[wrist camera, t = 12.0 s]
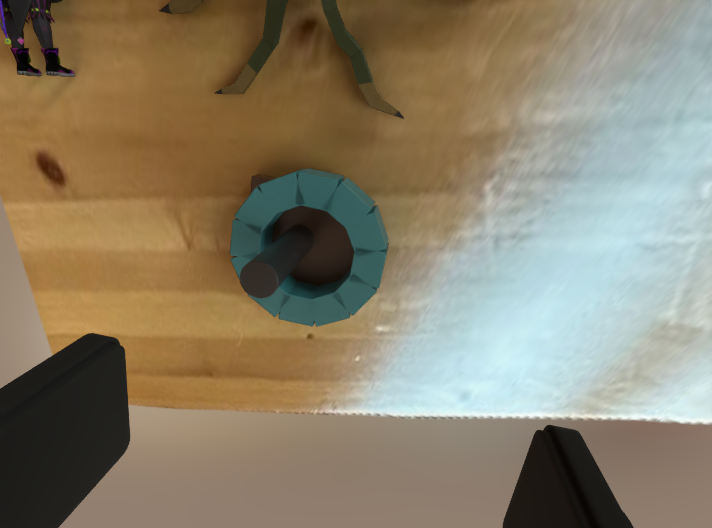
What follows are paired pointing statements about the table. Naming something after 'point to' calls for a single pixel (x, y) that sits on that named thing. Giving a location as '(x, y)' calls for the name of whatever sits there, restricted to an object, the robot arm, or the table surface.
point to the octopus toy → (275, 10)
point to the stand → (299, 250)
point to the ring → (348, 209)
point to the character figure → (16, 8)
